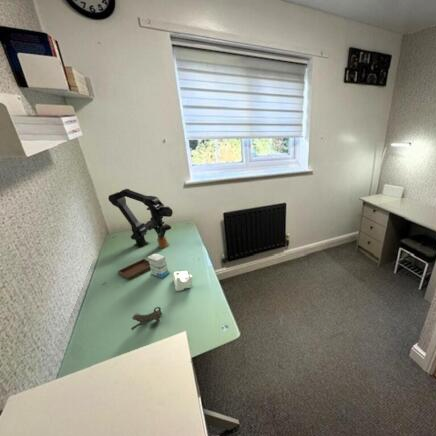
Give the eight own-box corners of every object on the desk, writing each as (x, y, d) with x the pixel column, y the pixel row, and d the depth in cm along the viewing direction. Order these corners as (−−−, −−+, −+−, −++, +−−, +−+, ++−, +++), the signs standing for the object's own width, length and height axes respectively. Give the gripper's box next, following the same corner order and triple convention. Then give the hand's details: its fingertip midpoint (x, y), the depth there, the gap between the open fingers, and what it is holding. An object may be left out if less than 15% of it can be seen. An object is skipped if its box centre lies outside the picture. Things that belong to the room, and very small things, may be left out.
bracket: (190, 289, 127) (192, 276, 125) (176, 290, 123) (177, 278, 121) (186, 276, 137) (187, 264, 135) (172, 277, 133) (174, 265, 131)
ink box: (169, 273, 138) (165, 256, 133) (161, 278, 133) (157, 260, 129) (159, 269, 141) (154, 252, 136) (151, 274, 137) (146, 257, 132)
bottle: (157, 246, 165) (154, 235, 161) (164, 243, 169) (162, 231, 166) (162, 248, 162) (159, 237, 159) (169, 245, 167) (167, 233, 163)
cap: (156, 237, 162) (156, 234, 161) (162, 234, 165) (161, 232, 164) (160, 238, 160) (159, 235, 159) (165, 236, 163) (165, 233, 163)
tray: (118, 273, 137) (117, 270, 136) (144, 261, 149) (144, 258, 148) (129, 280, 131) (128, 277, 131) (155, 266, 143) (154, 263, 143)
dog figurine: (163, 314, 109) (160, 302, 106) (163, 323, 105) (159, 311, 102) (133, 322, 105) (129, 310, 102) (131, 332, 100) (127, 319, 97)
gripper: (136, 216, 154) (141, 237, 161) (152, 223, 146) (158, 245, 152) (152, 211, 163) (157, 231, 169) (169, 217, 155) (173, 238, 161)
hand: (161, 236), depth 163 cm, fingers closed on cap, 4 cm apart
